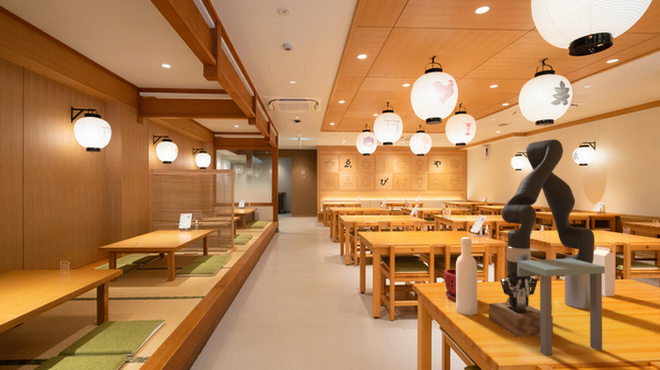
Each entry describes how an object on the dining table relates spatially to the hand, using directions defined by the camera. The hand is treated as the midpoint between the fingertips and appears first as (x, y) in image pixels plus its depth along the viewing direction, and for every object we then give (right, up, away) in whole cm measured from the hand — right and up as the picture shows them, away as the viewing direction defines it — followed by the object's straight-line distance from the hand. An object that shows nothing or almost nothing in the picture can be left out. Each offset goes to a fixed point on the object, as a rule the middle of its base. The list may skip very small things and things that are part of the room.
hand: (518, 306), depth 111 cm
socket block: (0, -7, 0) cm, 7 cm away
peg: (0, -3, 0) cm, 3 cm away
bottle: (-13, -8, +13) cm, 20 cm away
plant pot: (-10, -8, +28) cm, 30 cm away
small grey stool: (+5, -7, -13) cm, 16 cm away
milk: (+60, -8, +33) cm, 69 cm away
